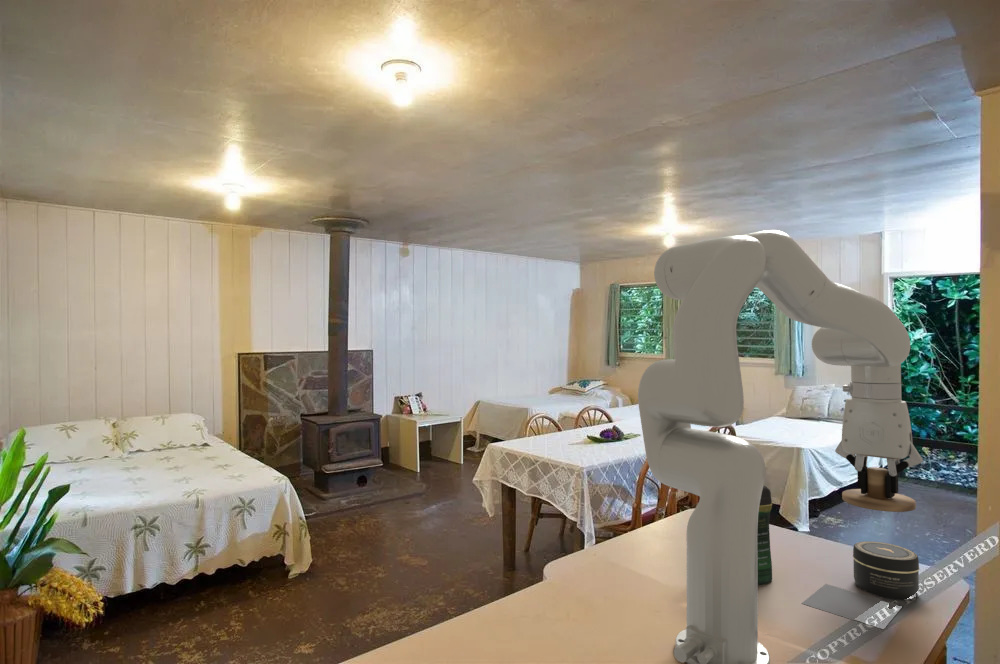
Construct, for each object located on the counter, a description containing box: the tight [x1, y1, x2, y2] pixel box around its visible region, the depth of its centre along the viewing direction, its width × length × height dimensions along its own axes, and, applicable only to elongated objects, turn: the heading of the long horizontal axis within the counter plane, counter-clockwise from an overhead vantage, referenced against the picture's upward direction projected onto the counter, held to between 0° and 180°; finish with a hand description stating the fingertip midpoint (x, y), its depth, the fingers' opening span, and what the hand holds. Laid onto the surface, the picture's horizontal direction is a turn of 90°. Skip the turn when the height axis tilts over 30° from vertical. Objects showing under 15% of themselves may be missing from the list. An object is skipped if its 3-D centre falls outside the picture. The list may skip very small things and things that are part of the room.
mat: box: [801, 583, 897, 631], centre depth 96 cm, size 12×12×1 cm
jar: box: [852, 540, 920, 601], centre depth 103 cm, size 10×10×8 cm
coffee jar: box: [757, 485, 773, 586], centre depth 109 cm, size 10×8×19 cm
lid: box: [841, 466, 917, 513], centre depth 102 cm, size 11×11×6 cm
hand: (877, 493), depth 102 cm, fingers closed on lid, 3 cm apart
